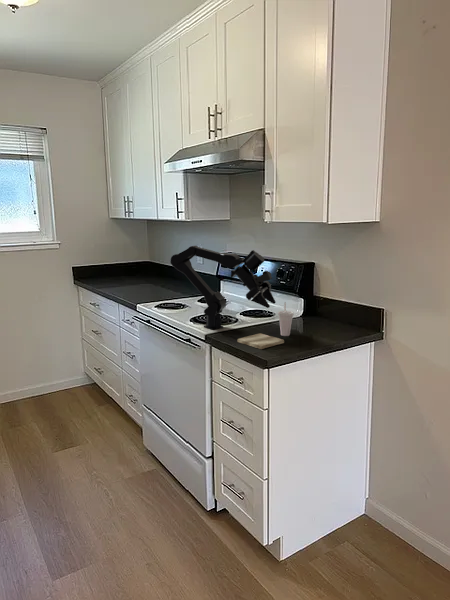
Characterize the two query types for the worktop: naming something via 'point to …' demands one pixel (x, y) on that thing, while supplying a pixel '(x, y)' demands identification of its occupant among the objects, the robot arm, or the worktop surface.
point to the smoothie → (285, 321)
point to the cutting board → (260, 341)
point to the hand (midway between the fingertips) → (272, 305)
